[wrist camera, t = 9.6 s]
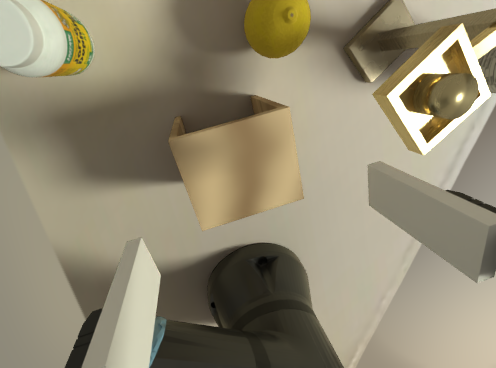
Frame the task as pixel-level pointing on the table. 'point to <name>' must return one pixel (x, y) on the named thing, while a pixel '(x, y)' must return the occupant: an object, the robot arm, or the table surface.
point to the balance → (425, 70)
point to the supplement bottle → (42, 40)
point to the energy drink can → (489, 69)
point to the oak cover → (239, 164)
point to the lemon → (276, 26)
